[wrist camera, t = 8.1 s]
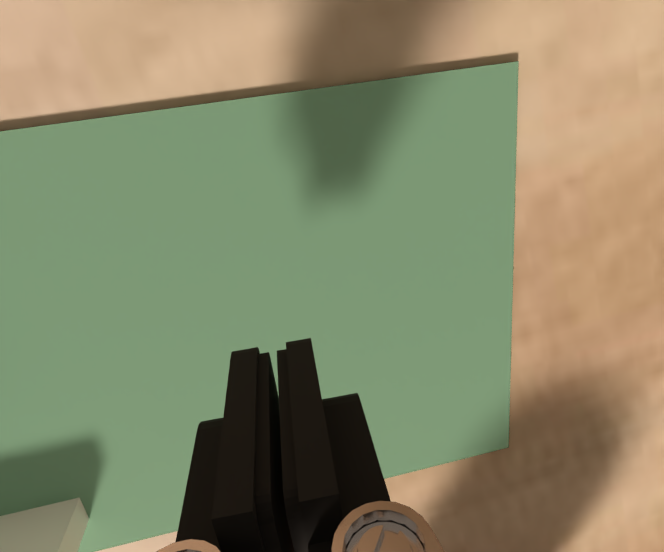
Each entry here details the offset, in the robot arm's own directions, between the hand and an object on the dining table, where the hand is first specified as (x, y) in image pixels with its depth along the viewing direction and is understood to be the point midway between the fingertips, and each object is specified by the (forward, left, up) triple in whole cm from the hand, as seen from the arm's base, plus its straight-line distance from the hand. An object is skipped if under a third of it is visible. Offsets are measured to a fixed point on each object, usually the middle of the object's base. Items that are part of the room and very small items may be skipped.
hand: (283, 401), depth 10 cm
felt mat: (+3, -4, -5) cm, 7 cm away
